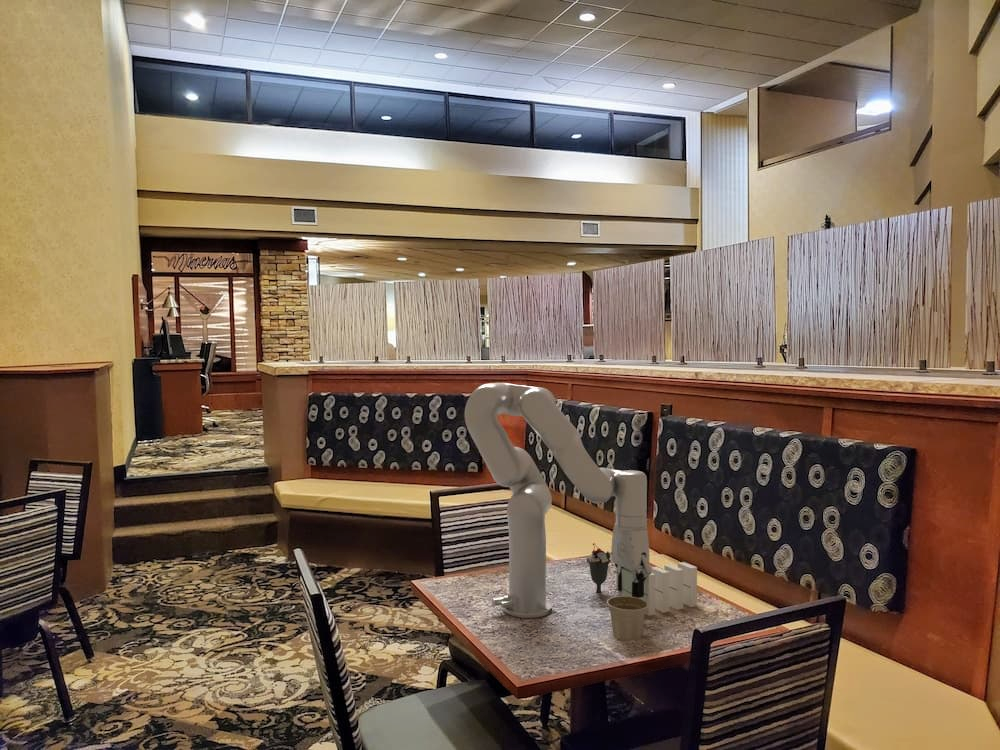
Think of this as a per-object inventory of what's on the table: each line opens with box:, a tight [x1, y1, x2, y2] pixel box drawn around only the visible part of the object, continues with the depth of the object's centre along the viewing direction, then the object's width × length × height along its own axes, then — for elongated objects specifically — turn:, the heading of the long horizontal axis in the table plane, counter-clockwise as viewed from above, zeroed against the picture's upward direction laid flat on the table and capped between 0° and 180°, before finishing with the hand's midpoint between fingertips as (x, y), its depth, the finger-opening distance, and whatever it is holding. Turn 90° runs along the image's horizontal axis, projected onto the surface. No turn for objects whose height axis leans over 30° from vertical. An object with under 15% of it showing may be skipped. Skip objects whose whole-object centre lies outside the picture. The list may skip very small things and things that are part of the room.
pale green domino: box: [620, 568, 640, 597], centre depth 168 cm, size 2×5×10 cm, turn 26°
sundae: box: [586, 542, 612, 595], centre depth 184 cm, size 7×7×15 cm
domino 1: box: [637, 571, 655, 616], centre depth 170 cm, size 2×5×10 cm, turn 26°
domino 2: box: [650, 566, 669, 613], centre depth 172 cm, size 2×5×10 cm, turn 26°
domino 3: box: [663, 563, 683, 610], centre depth 174 cm, size 2×5×10 cm, turn 26°
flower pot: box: [606, 595, 648, 642], centre depth 155 cm, size 9×9×9 cm
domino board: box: [644, 603, 706, 621], centre depth 172 cm, size 23×9×1 cm, turn 116°
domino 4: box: [677, 561, 698, 607], centre depth 176 cm, size 2×5×10 cm, turn 26°
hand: (630, 593), depth 168 cm, fingers closed on pale green domino, 4 cm apart
